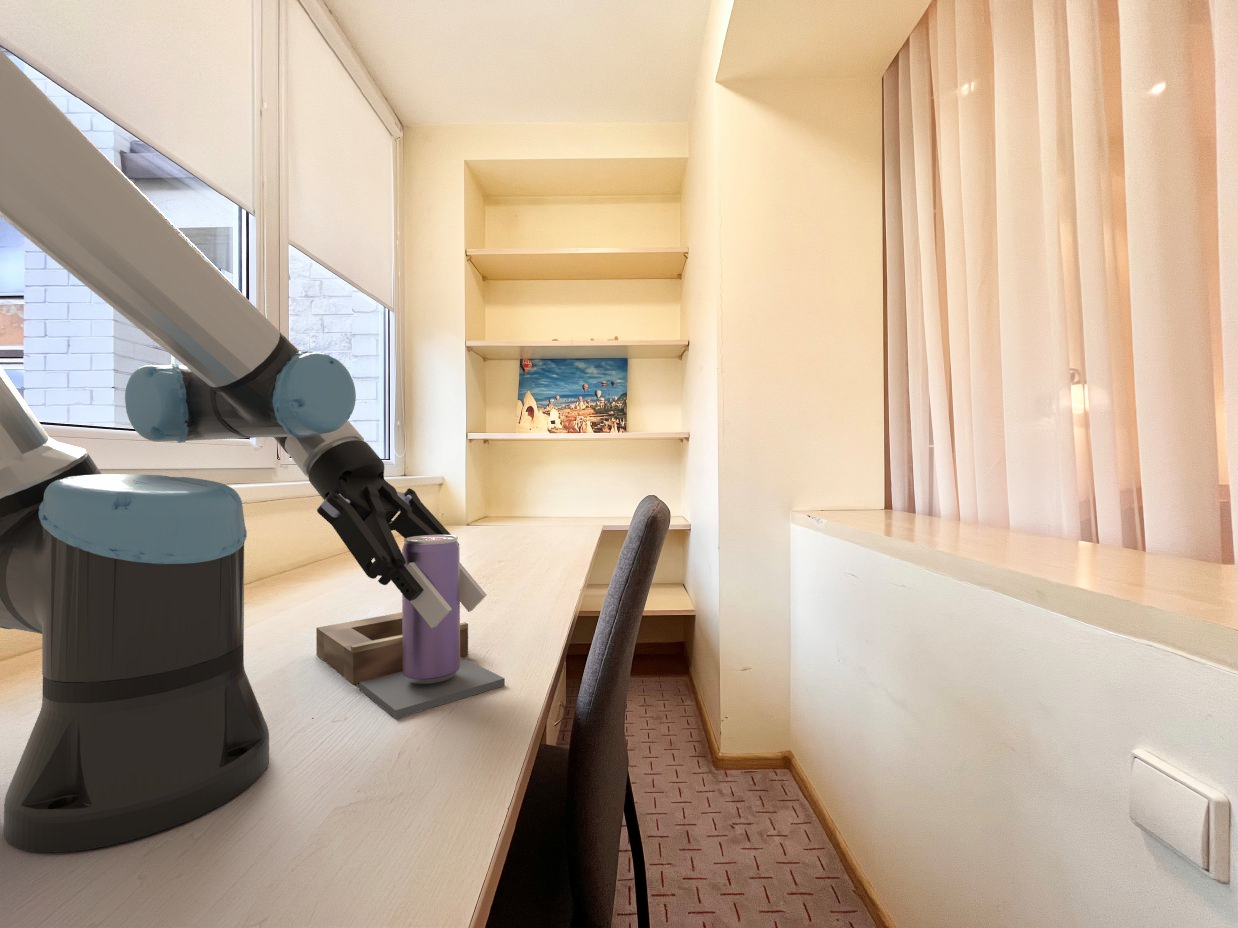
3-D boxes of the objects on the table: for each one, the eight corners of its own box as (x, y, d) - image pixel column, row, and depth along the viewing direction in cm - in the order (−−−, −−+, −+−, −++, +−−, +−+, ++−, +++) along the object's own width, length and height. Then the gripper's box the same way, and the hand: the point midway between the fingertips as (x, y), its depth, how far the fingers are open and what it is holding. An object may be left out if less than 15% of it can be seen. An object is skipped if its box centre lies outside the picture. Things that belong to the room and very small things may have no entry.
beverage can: (450, 685, 59) (449, 540, 59) (393, 685, 59) (392, 541, 59) (466, 665, 65) (466, 534, 65) (415, 665, 65) (414, 534, 65)
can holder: (353, 684, 63) (353, 647, 63) (316, 654, 73) (316, 622, 73) (468, 655, 73) (468, 623, 73) (421, 632, 83) (421, 604, 83)
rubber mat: (395, 718, 54) (395, 710, 54) (359, 689, 62) (359, 681, 62) (504, 685, 62) (504, 678, 63) (461, 663, 70) (461, 656, 70)
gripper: (376, 481, 76) (485, 612, 71) (244, 485, 58) (378, 662, 53) (410, 440, 74) (523, 571, 69) (285, 431, 56) (427, 608, 51)
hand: (460, 610), depth 61 cm, fingers open, 6 cm apart
